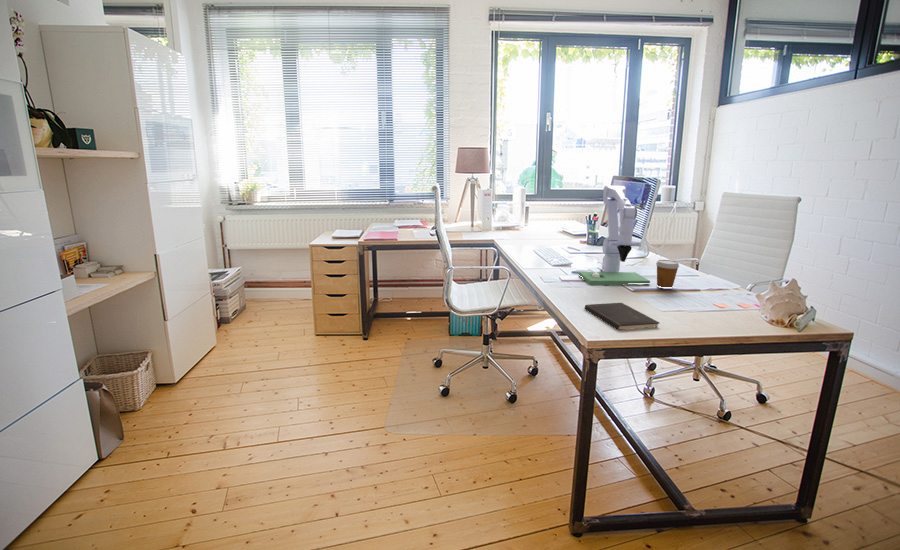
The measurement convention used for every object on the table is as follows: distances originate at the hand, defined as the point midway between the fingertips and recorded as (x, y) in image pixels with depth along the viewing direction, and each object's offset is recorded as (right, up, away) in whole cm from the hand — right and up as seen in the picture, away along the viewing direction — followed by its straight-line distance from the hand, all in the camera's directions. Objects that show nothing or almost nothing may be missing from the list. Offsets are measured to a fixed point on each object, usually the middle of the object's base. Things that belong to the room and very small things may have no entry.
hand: (622, 261), depth 223 cm
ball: (-12, -7, +1) cm, 14 cm away
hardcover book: (-19, -23, -49) cm, 57 cm away
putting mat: (-4, -9, +2) cm, 10 cm away
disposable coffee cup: (+16, -12, -8) cm, 22 cm away
